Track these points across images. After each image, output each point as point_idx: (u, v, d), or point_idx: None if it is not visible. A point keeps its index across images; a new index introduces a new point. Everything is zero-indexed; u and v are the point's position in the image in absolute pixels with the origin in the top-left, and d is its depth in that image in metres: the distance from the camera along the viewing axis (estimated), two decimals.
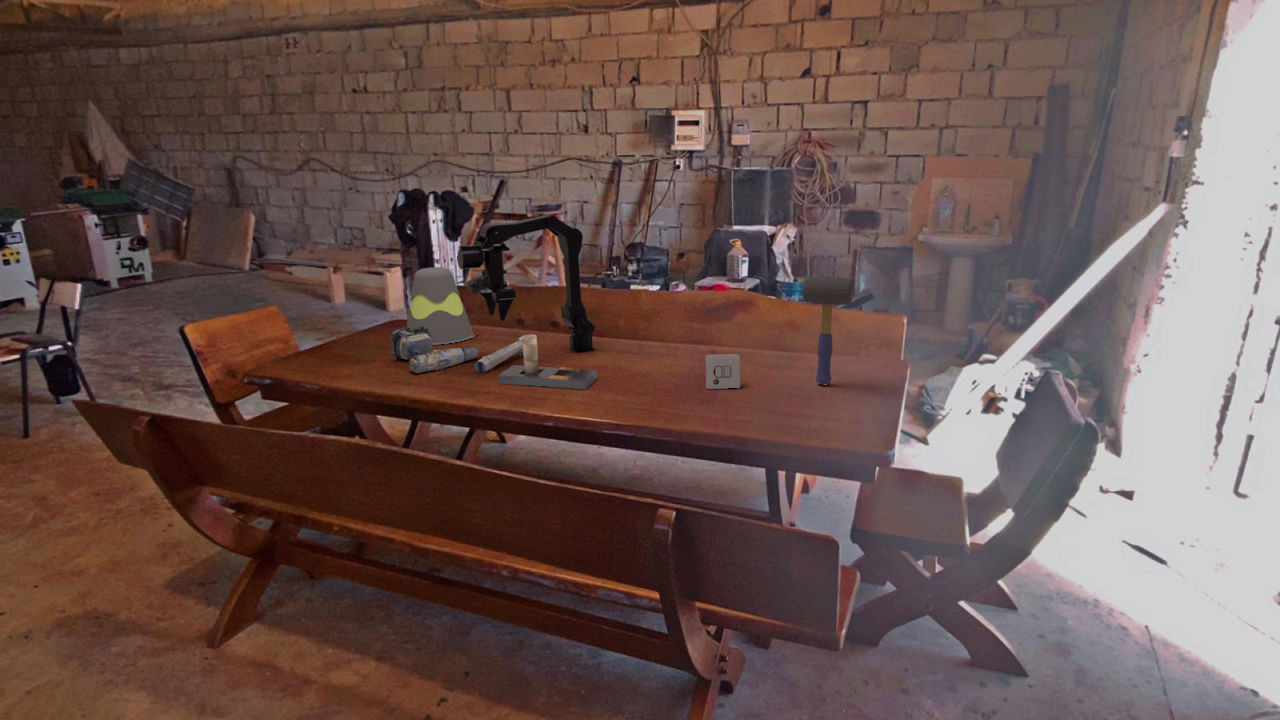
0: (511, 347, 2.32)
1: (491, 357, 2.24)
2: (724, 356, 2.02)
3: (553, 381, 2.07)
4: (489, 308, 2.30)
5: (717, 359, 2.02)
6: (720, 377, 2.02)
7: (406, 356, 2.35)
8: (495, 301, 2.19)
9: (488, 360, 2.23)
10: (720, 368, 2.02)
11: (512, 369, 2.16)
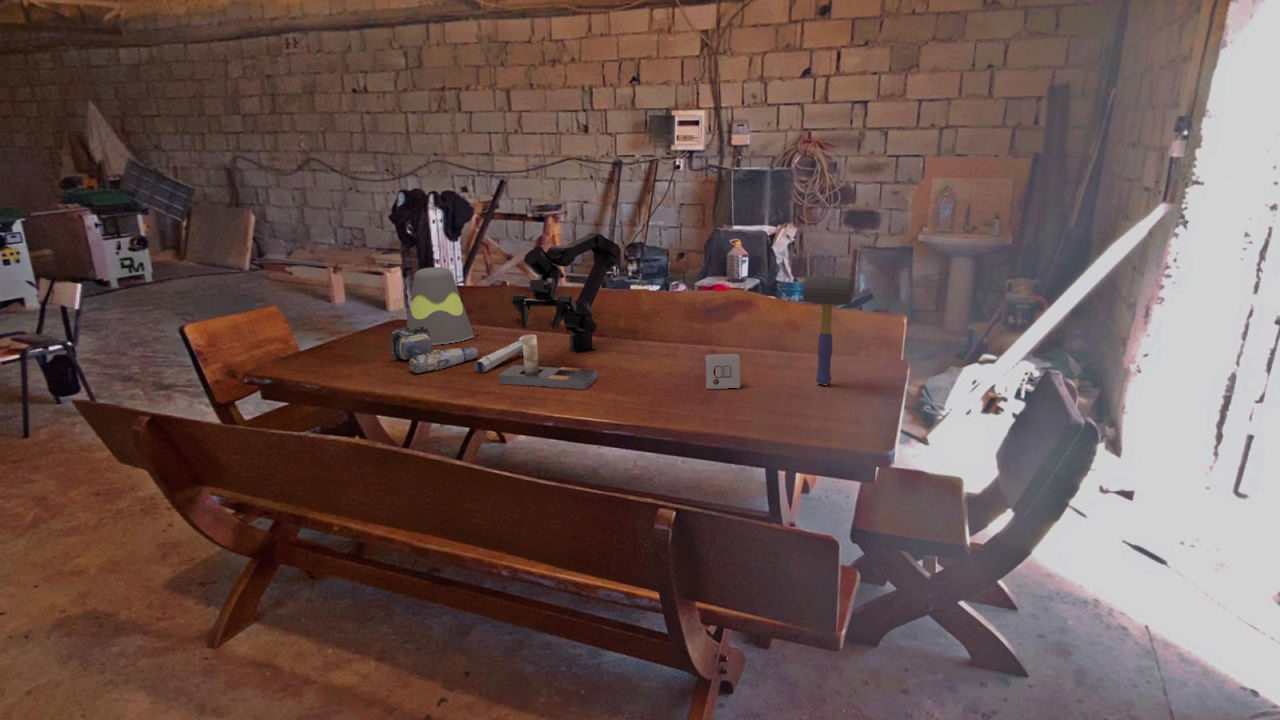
0: (511, 347, 2.32)
1: (491, 357, 2.24)
2: (724, 356, 2.02)
3: (553, 381, 2.07)
4: (524, 320, 2.20)
5: (717, 359, 2.02)
6: (720, 377, 2.02)
7: (406, 356, 2.35)
8: (561, 305, 2.17)
9: (488, 360, 2.23)
10: (720, 368, 2.02)
11: (512, 369, 2.16)
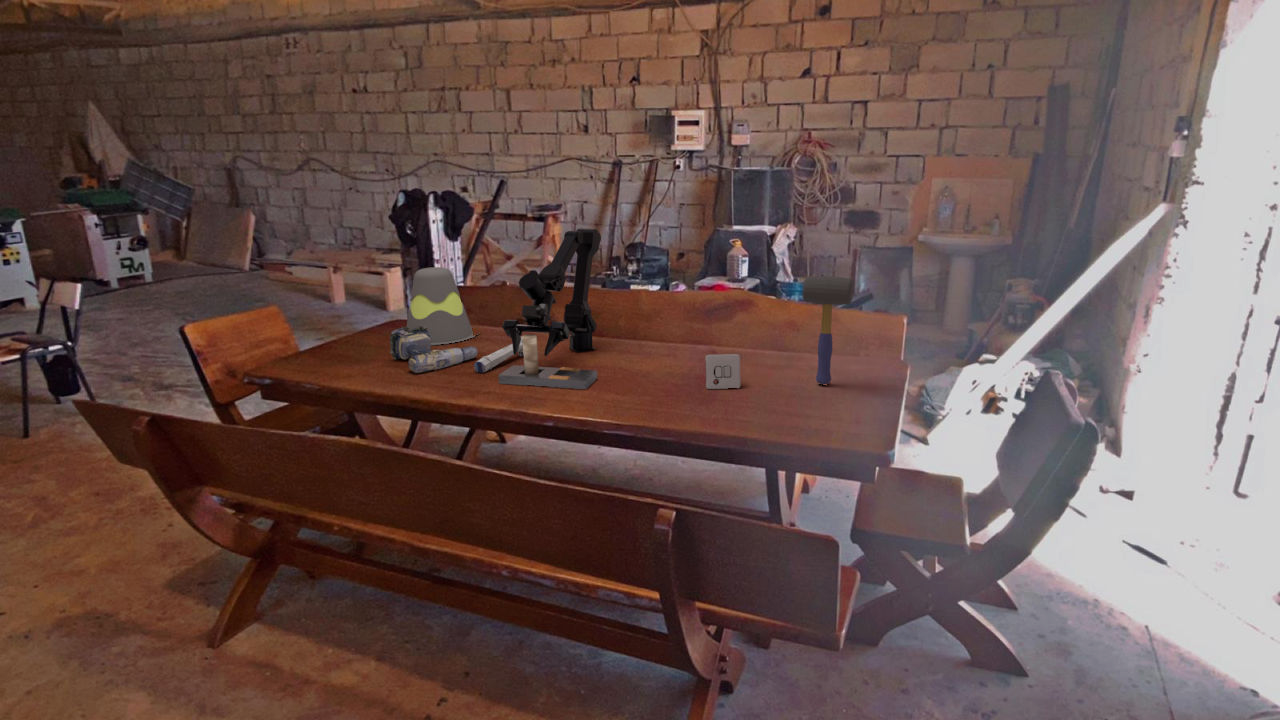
0: (511, 347, 2.32)
1: (490, 357, 2.24)
2: (724, 356, 2.02)
3: (553, 381, 2.07)
4: (516, 346, 2.13)
5: (717, 359, 2.02)
6: (720, 377, 2.02)
7: (405, 356, 2.35)
8: (554, 331, 2.11)
9: (487, 360, 2.23)
10: (720, 368, 2.02)
11: (512, 369, 2.16)
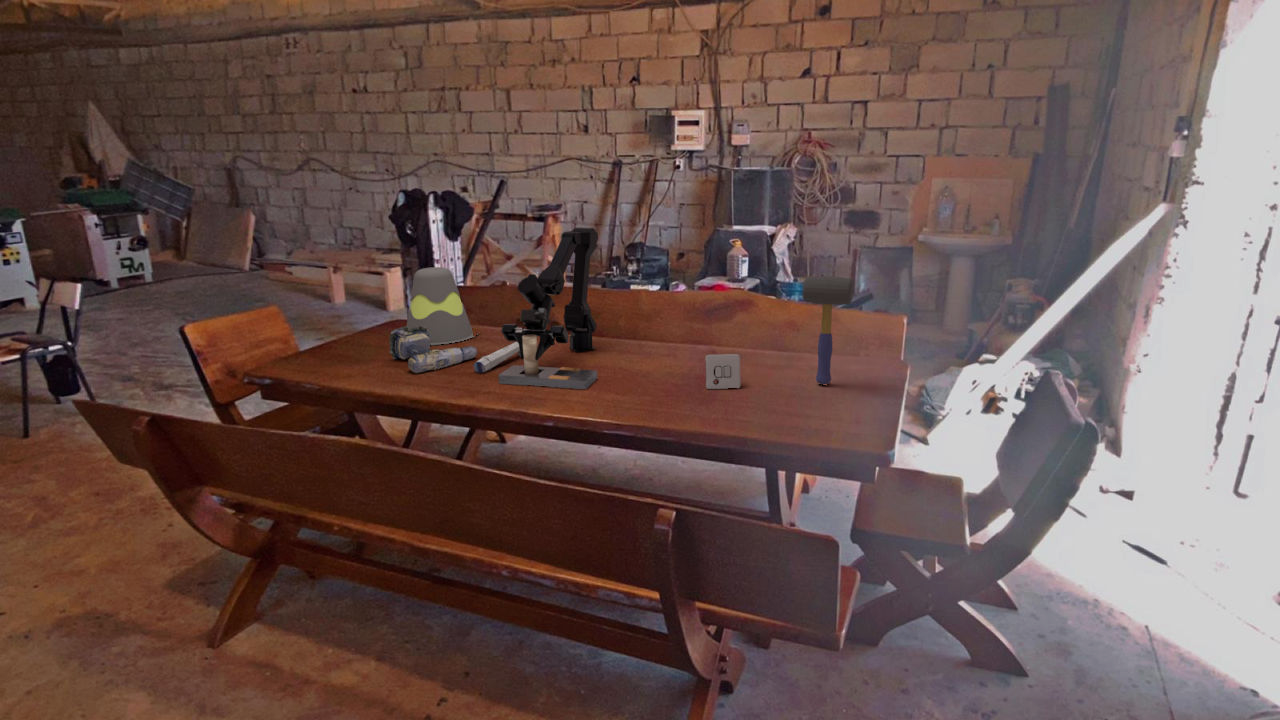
0: (510, 347, 2.32)
1: (490, 357, 2.24)
2: (724, 356, 2.02)
3: (553, 381, 2.07)
4: None
5: (717, 359, 2.02)
6: (720, 377, 2.02)
7: (404, 356, 2.35)
8: (545, 335, 2.11)
9: (487, 360, 2.23)
10: (720, 368, 2.02)
11: (512, 369, 2.16)
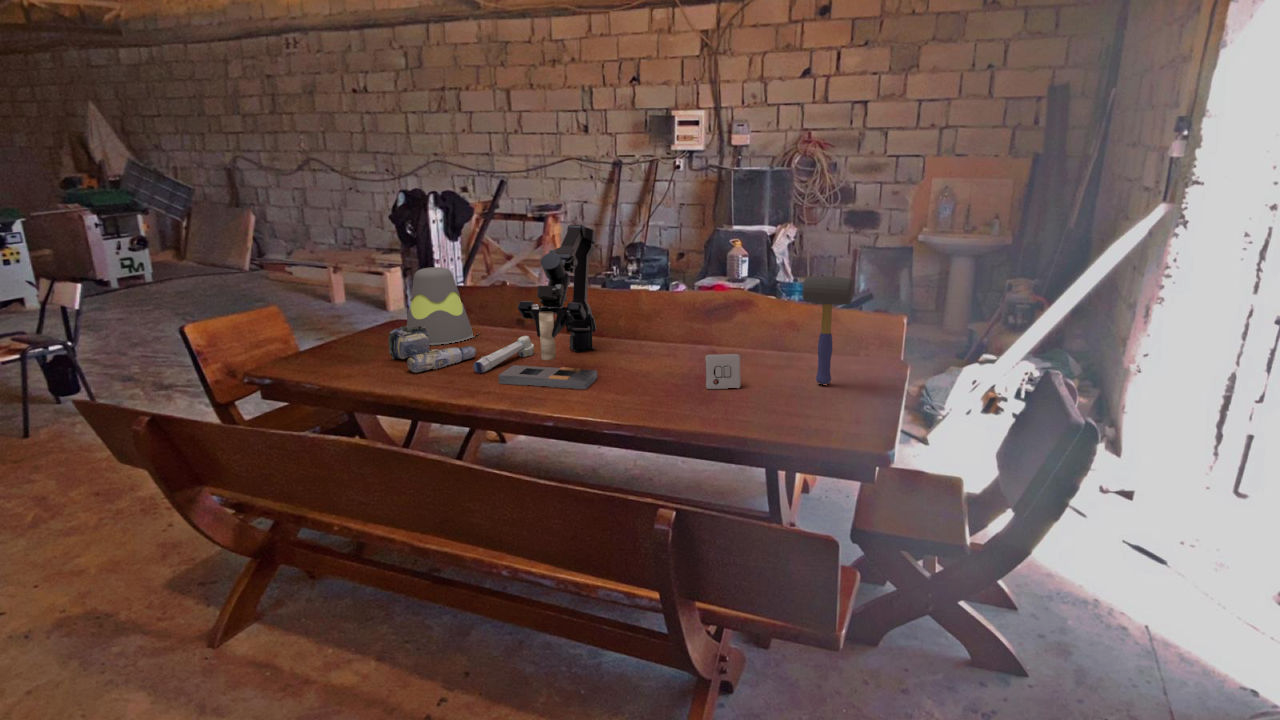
0: (510, 347, 2.31)
1: (490, 358, 2.24)
2: (724, 356, 2.02)
3: (553, 381, 2.07)
4: (539, 328, 2.09)
5: (717, 359, 2.02)
6: (720, 377, 2.02)
7: (404, 356, 2.35)
8: (562, 312, 2.07)
9: (487, 361, 2.22)
10: (720, 368, 2.02)
11: (512, 369, 2.16)
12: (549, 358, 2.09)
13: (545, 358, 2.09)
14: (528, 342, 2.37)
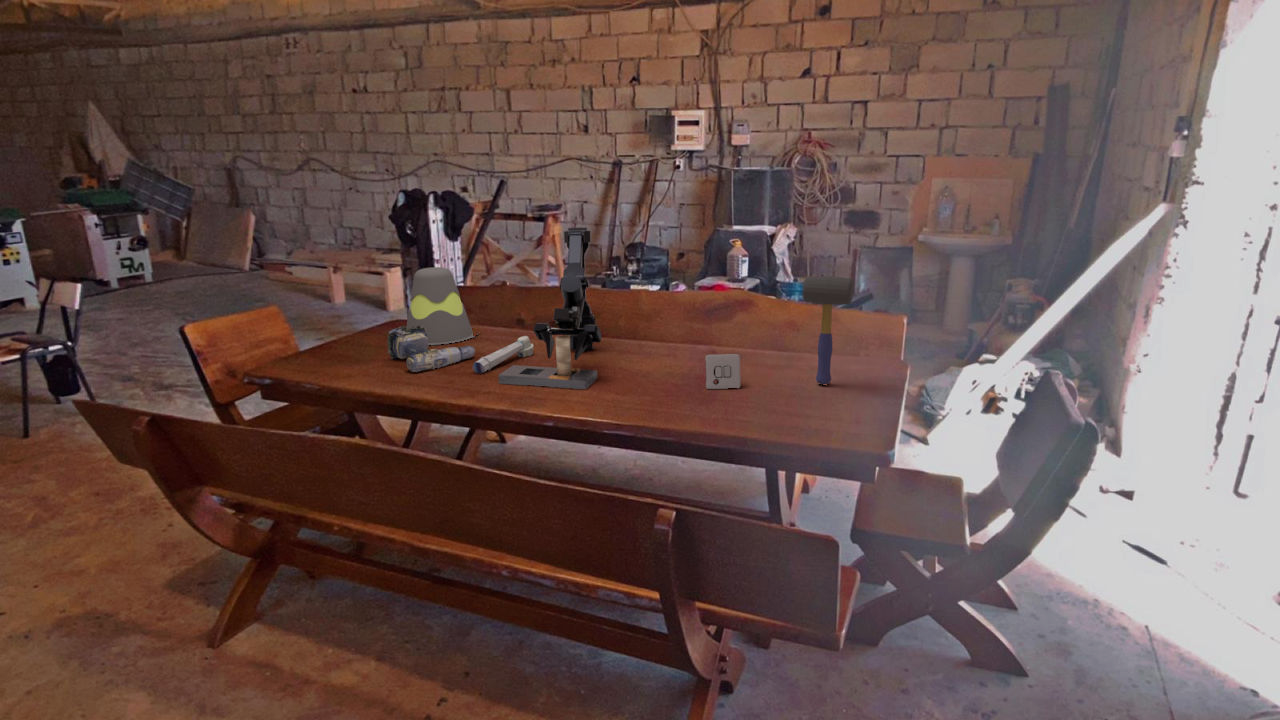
0: (510, 348, 2.31)
1: (489, 358, 2.24)
2: (724, 356, 2.02)
3: (553, 381, 2.07)
4: (550, 350, 2.10)
5: (717, 359, 2.02)
6: (720, 377, 2.02)
7: (402, 355, 2.36)
8: (584, 335, 2.08)
9: (486, 361, 2.22)
10: (720, 368, 2.02)
11: (512, 369, 2.16)
12: None
13: None
14: (528, 342, 2.37)
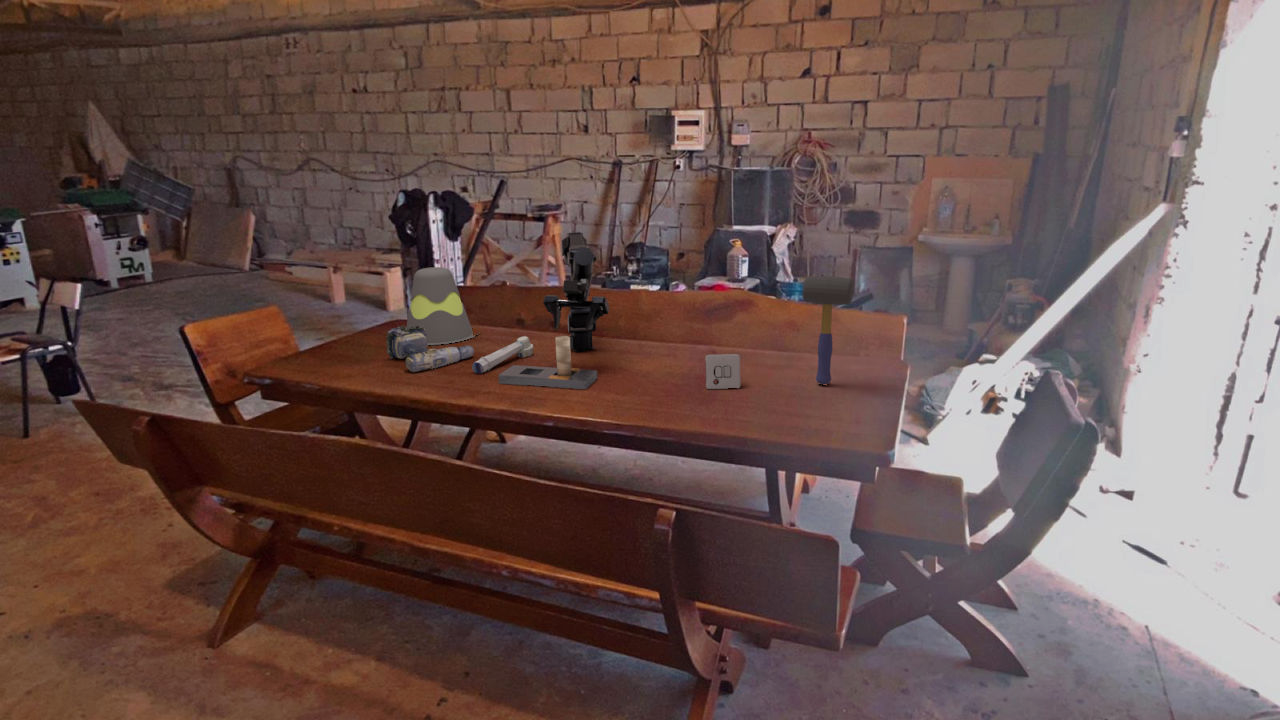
0: (509, 348, 2.31)
1: (489, 358, 2.23)
2: (724, 356, 2.02)
3: (553, 381, 2.07)
4: (557, 321, 2.17)
5: (717, 359, 2.02)
6: (720, 377, 2.02)
7: (401, 355, 2.36)
8: (595, 306, 2.14)
9: (486, 361, 2.22)
10: (720, 368, 2.02)
11: (512, 369, 2.16)
12: None
13: None
14: (527, 342, 2.37)
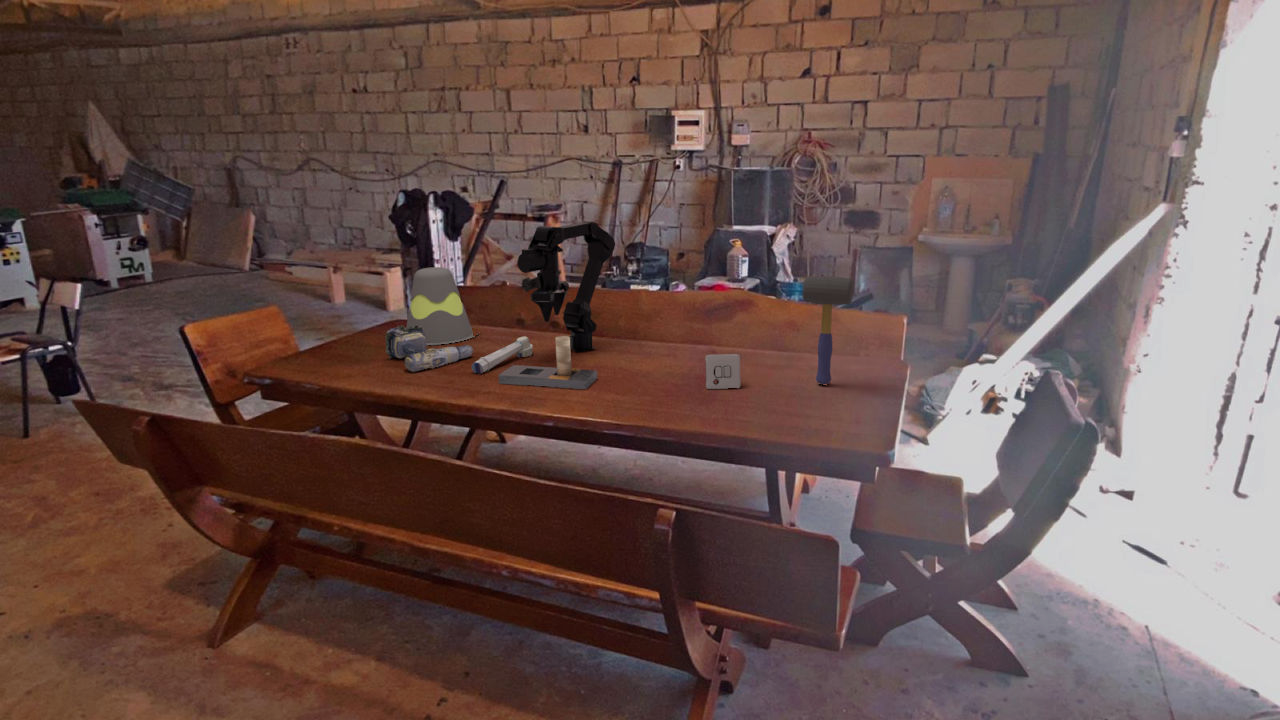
0: (509, 348, 2.31)
1: (488, 358, 2.23)
2: (724, 356, 2.02)
3: (553, 381, 2.07)
4: (554, 308, 2.35)
5: (717, 359, 2.02)
6: (720, 377, 2.02)
7: (401, 355, 2.36)
8: None
9: (485, 361, 2.22)
10: (720, 368, 2.02)
11: (512, 369, 2.16)
12: None
13: None
14: (527, 343, 2.37)
